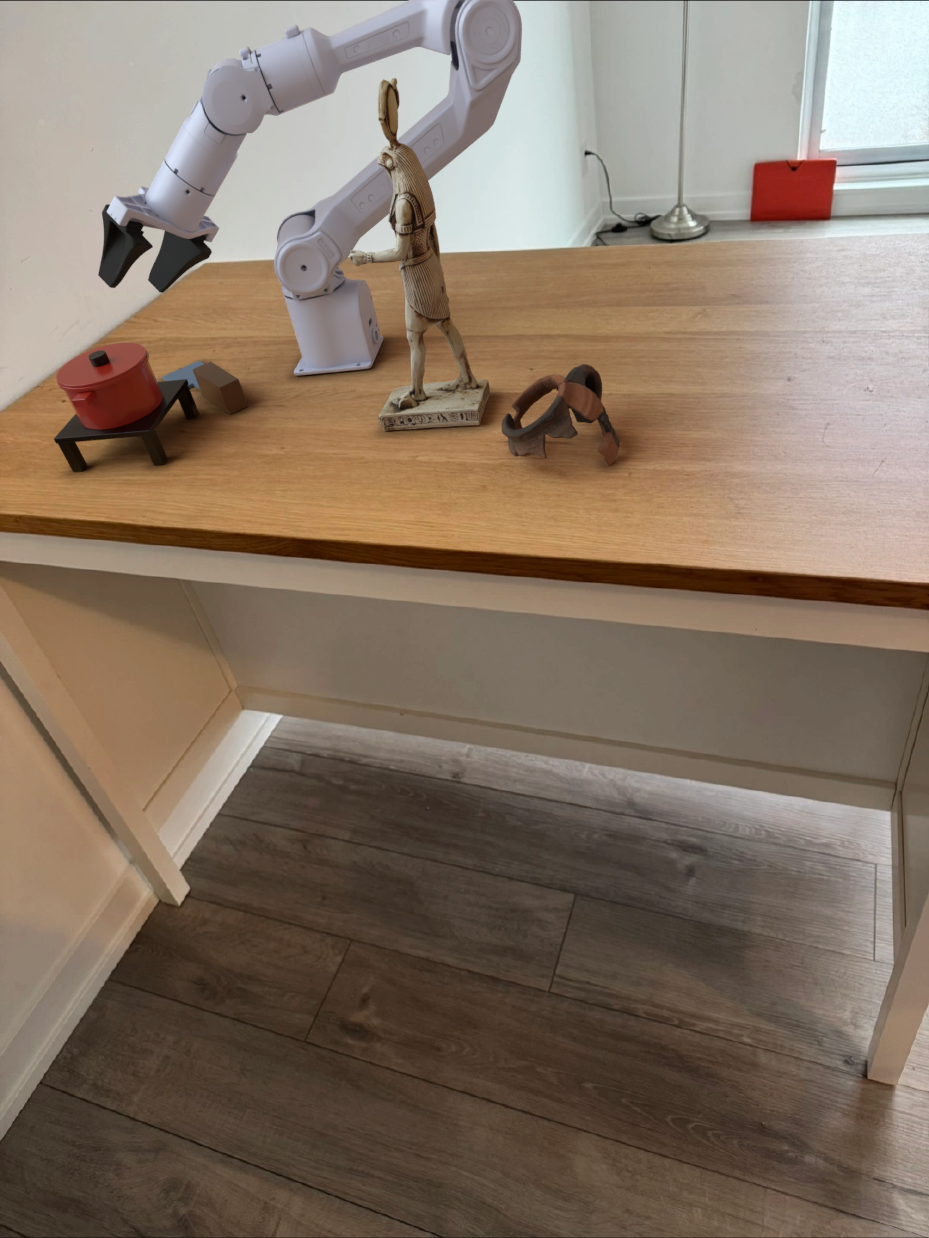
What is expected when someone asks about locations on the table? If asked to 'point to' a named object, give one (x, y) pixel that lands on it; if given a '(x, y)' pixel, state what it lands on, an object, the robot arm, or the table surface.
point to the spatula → (213, 385)
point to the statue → (420, 290)
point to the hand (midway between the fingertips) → (131, 284)
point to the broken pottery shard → (561, 413)
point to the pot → (117, 400)
